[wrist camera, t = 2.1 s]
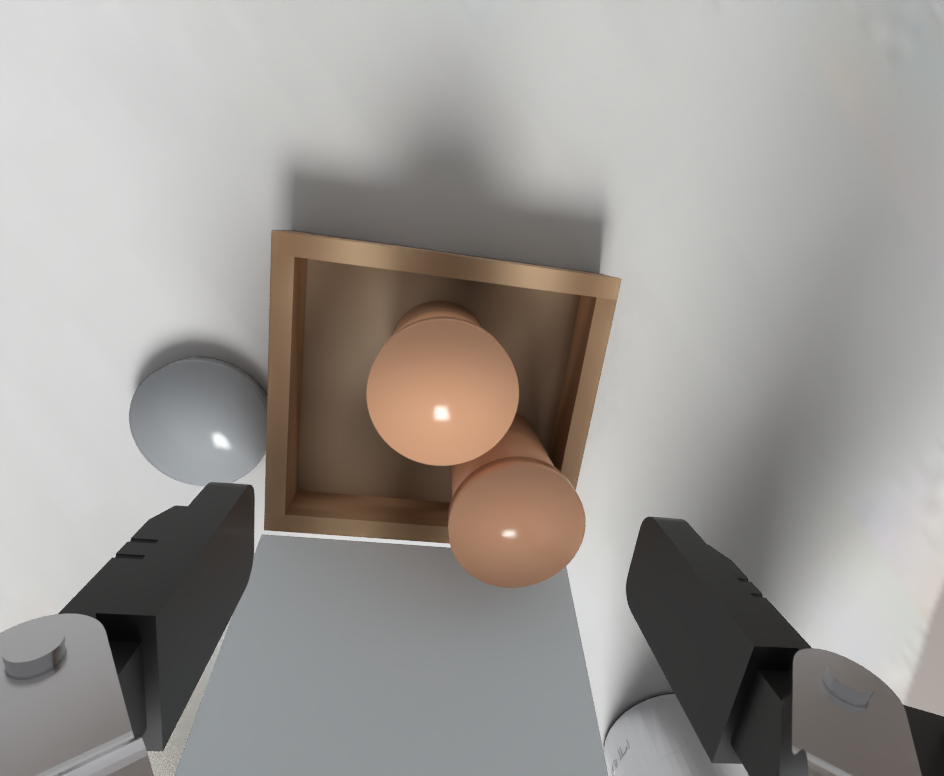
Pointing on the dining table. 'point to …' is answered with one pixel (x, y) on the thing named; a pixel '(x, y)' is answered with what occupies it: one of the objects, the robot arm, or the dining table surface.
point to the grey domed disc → (200, 421)
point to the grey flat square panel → (394, 671)
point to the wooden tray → (355, 349)
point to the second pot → (514, 512)
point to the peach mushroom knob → (442, 386)
